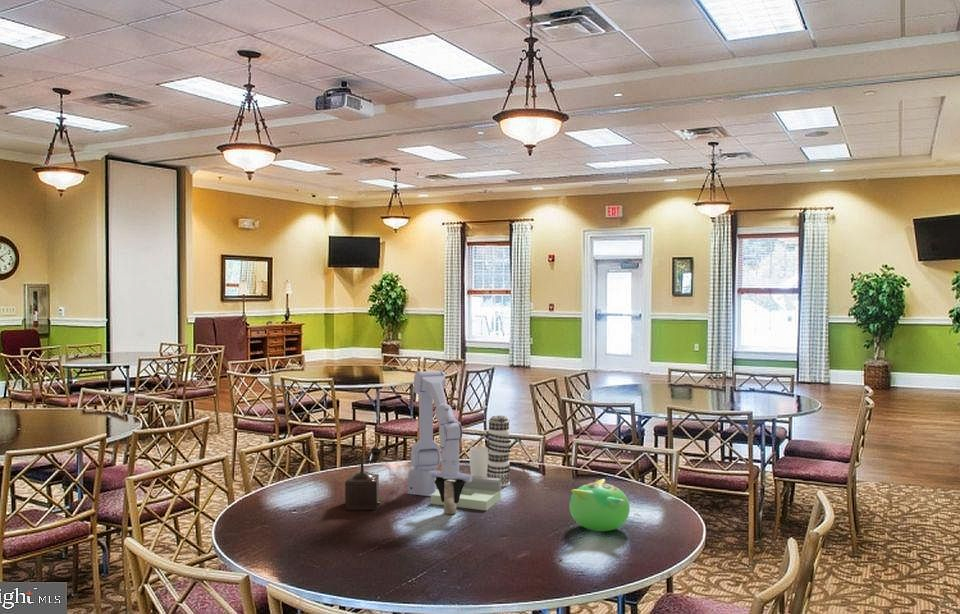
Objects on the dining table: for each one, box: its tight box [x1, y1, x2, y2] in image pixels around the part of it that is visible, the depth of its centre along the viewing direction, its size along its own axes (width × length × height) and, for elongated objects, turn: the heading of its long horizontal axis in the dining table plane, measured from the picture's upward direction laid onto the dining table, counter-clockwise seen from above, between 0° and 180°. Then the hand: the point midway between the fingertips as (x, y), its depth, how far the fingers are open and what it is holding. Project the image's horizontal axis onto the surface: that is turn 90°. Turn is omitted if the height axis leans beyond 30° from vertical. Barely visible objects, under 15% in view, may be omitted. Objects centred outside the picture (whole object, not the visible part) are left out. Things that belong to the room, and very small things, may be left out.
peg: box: [443, 480, 457, 515], centre depth 236 cm, size 4×4×10 cm
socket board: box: [430, 476, 502, 511], centre depth 249 cm, size 20×14×7 cm
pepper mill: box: [344, 446, 383, 512], centre depth 246 cm, size 16×11×18 cm
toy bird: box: [569, 478, 630, 532], centre depth 221 cm, size 18×17×15 cm
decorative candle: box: [486, 415, 512, 488], centre depth 271 cm, size 9×9×25 cm
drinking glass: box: [469, 445, 489, 477], centre depth 263 cm, size 7×7×15 cm
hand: (450, 501), depth 236 cm, fingers closed on peg, 4 cm apart
